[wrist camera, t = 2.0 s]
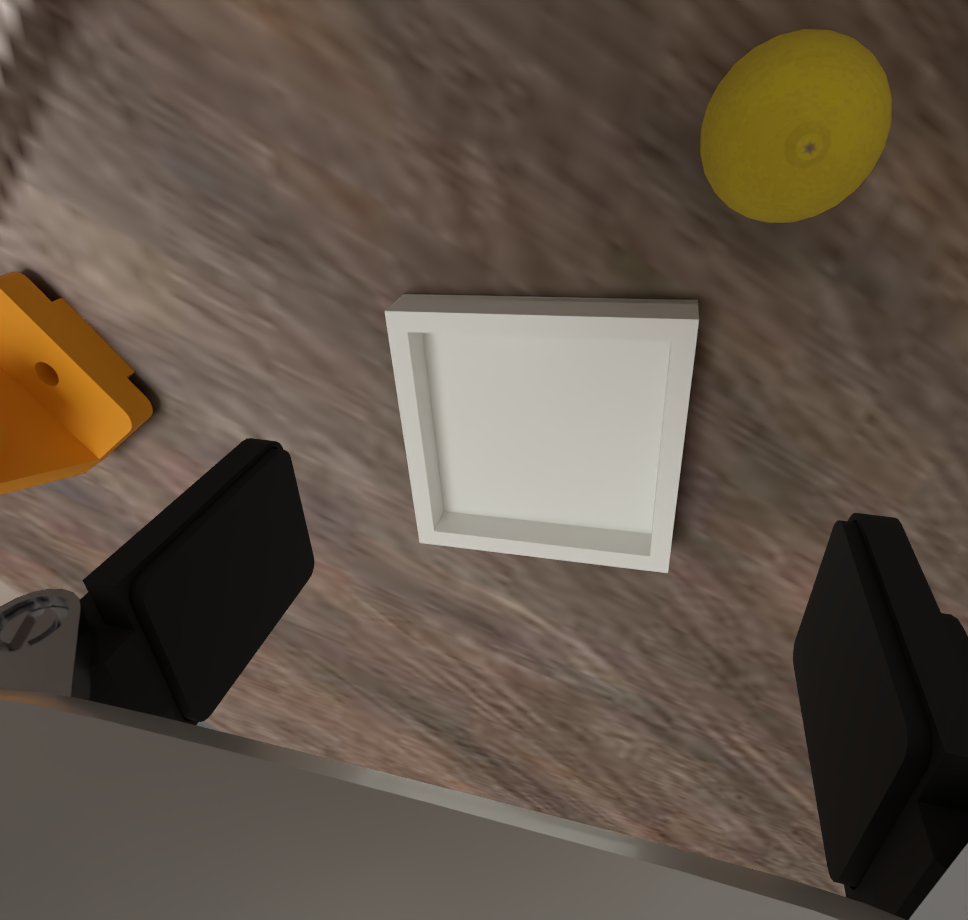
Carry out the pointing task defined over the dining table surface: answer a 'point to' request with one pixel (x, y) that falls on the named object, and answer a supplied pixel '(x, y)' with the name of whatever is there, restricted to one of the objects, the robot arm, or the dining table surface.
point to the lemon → (796, 126)
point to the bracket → (57, 390)
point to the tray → (545, 422)
